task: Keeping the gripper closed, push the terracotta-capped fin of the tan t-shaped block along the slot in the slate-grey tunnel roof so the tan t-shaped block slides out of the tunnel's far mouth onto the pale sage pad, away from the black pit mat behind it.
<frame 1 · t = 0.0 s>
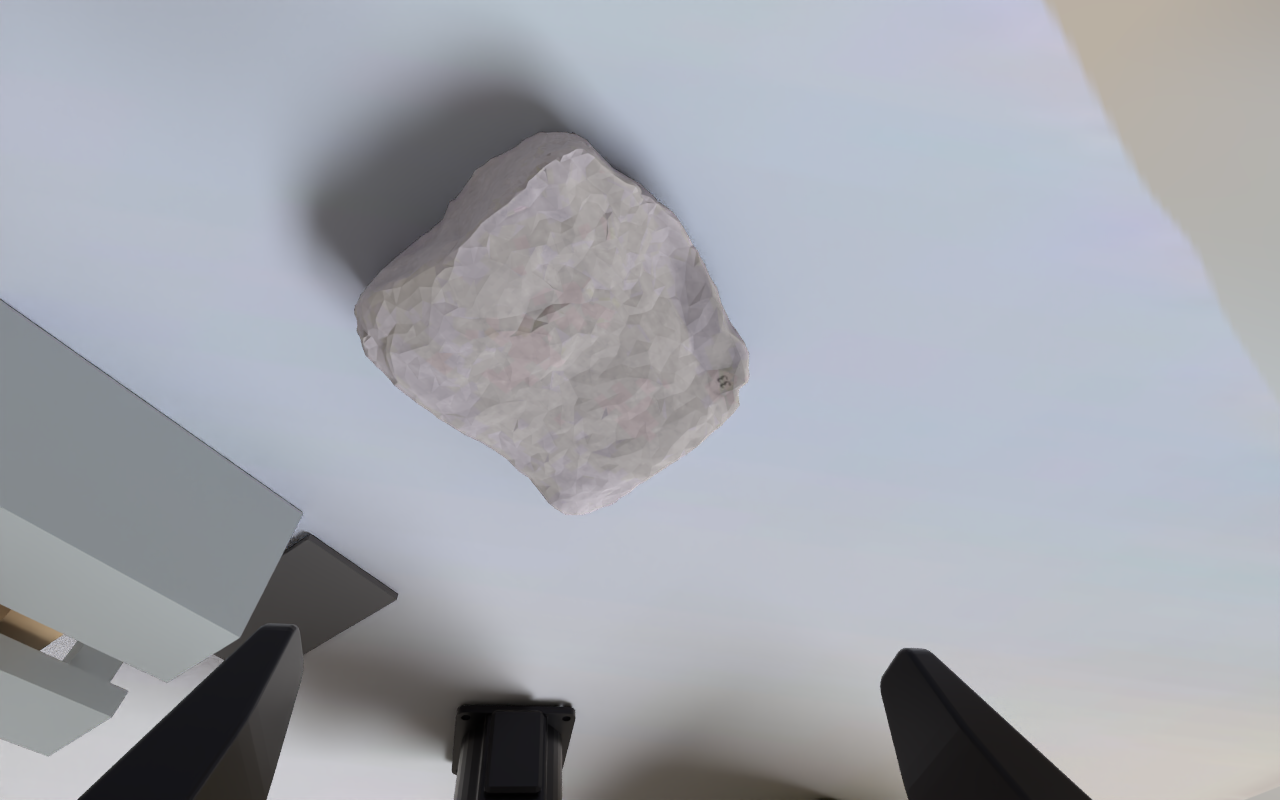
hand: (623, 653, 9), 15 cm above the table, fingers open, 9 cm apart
pit mat: (285, 609, 28), on the table
tunnel: (79, 486, 24), on the table
stone block: (579, 312, 23), on the table
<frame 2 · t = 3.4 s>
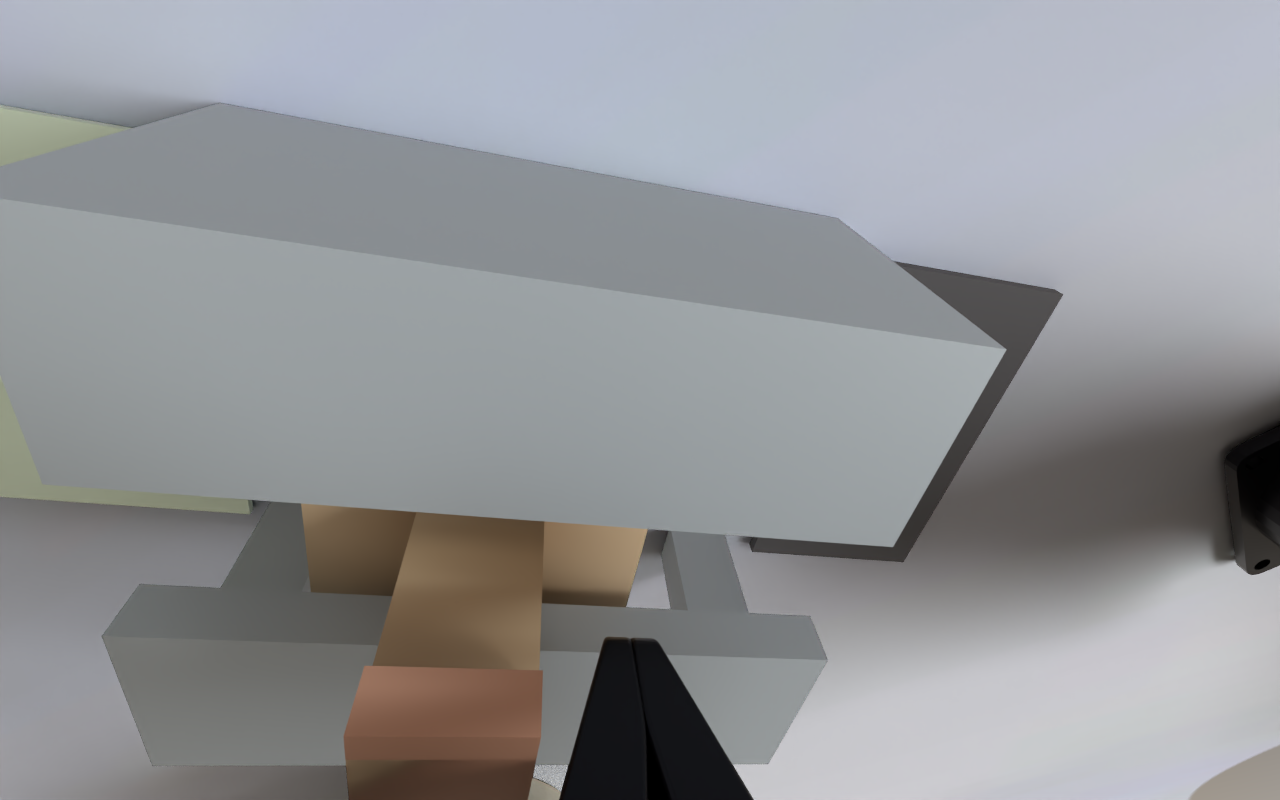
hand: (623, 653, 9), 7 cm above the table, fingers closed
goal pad: (41, 334, 13), on the table
tan t-shaped block: (482, 528, 11), point 5 cm above the table, slide at 0.6 cm, touching gripper
pit mat: (885, 430, 17), on the table
tunnel: (530, 390, 15), on the table
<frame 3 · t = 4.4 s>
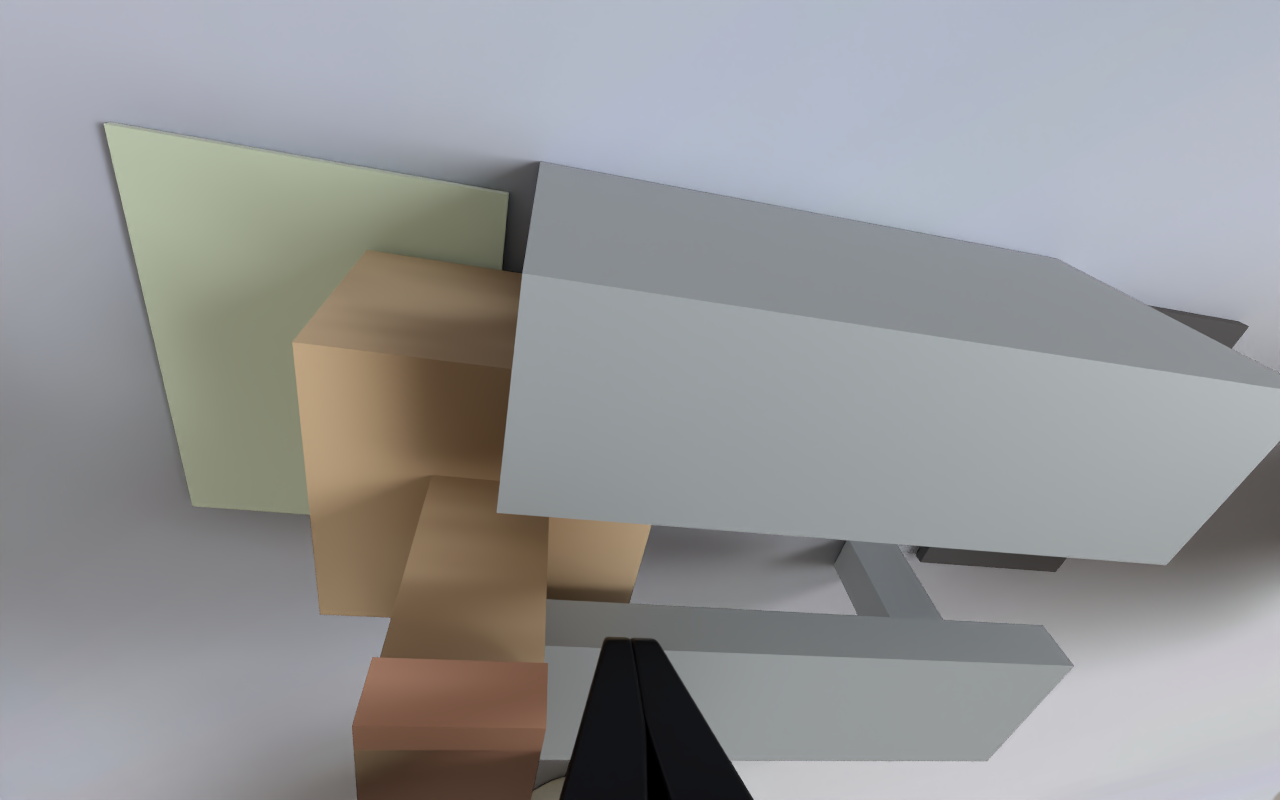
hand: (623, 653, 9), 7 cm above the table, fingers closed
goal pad: (334, 364, 14), on the table
tan t-shaped block: (487, 524, 11), point 5 cm above the table, slide at 6.2 cm, touching gripper
pit mat: (1060, 450, 18), on the table
tunnel: (750, 413, 16), on the table
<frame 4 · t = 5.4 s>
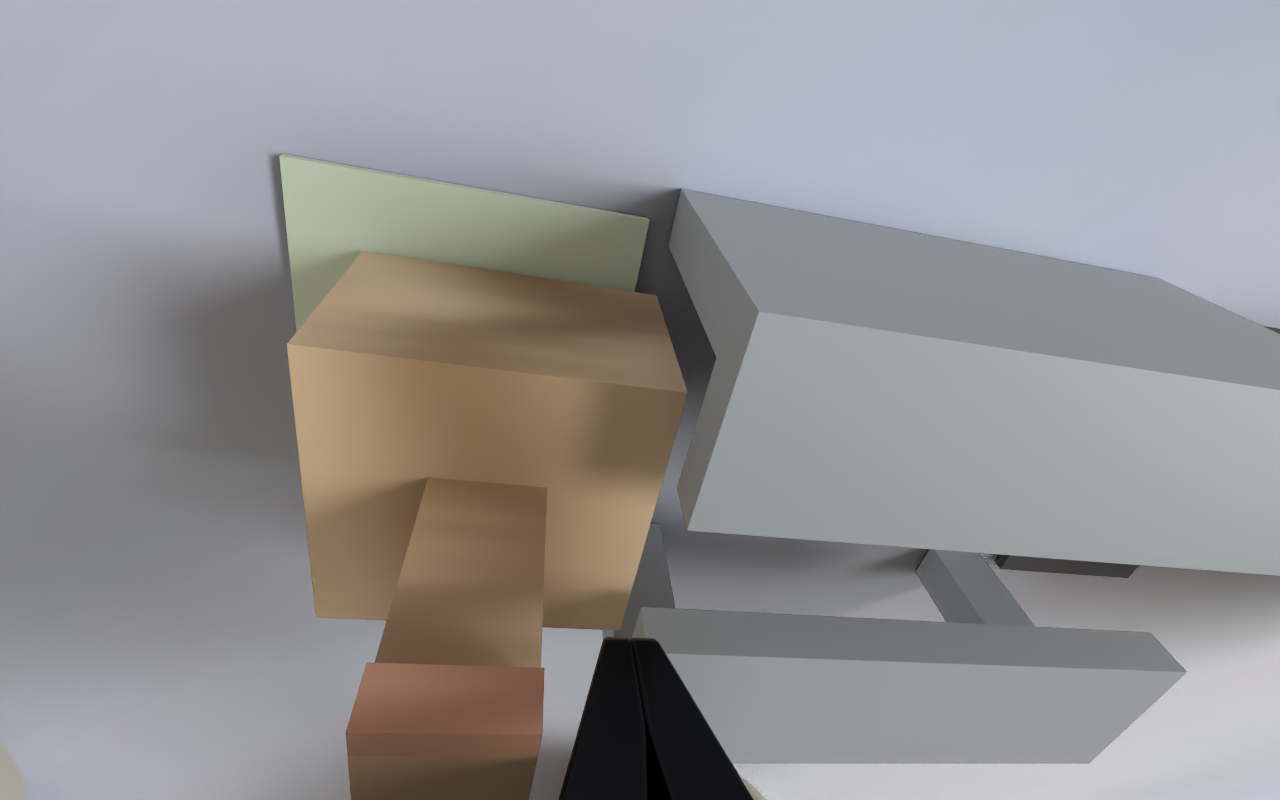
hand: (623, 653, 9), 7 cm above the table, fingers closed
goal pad: (464, 381, 14), on the table
tan t-shaped block: (483, 526, 11), point 5 cm above the table, slide at 9.1 cm, touching gripper
pit mat: (1143, 460, 18), on the table
tunnel: (852, 426, 16), on the table
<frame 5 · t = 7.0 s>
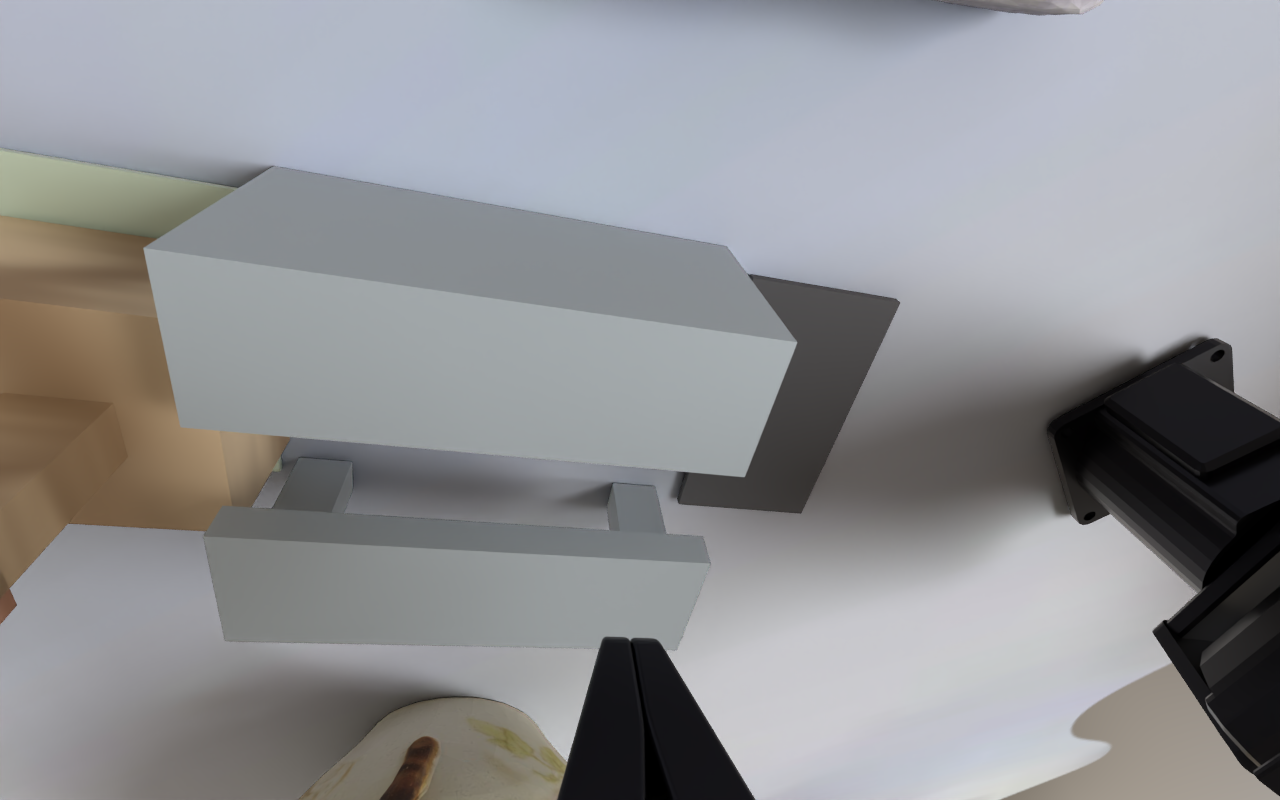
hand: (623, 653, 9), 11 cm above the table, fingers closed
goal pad: (129, 330, 17), on the table
tan t-shaped block: (59, 434, 13), point 5 cm above the table, slide at 9.1 cm
pit mat: (777, 406, 21), on the table
sugar bowl: (458, 739, 30), on the table
tunnel: (499, 374, 19), on the table
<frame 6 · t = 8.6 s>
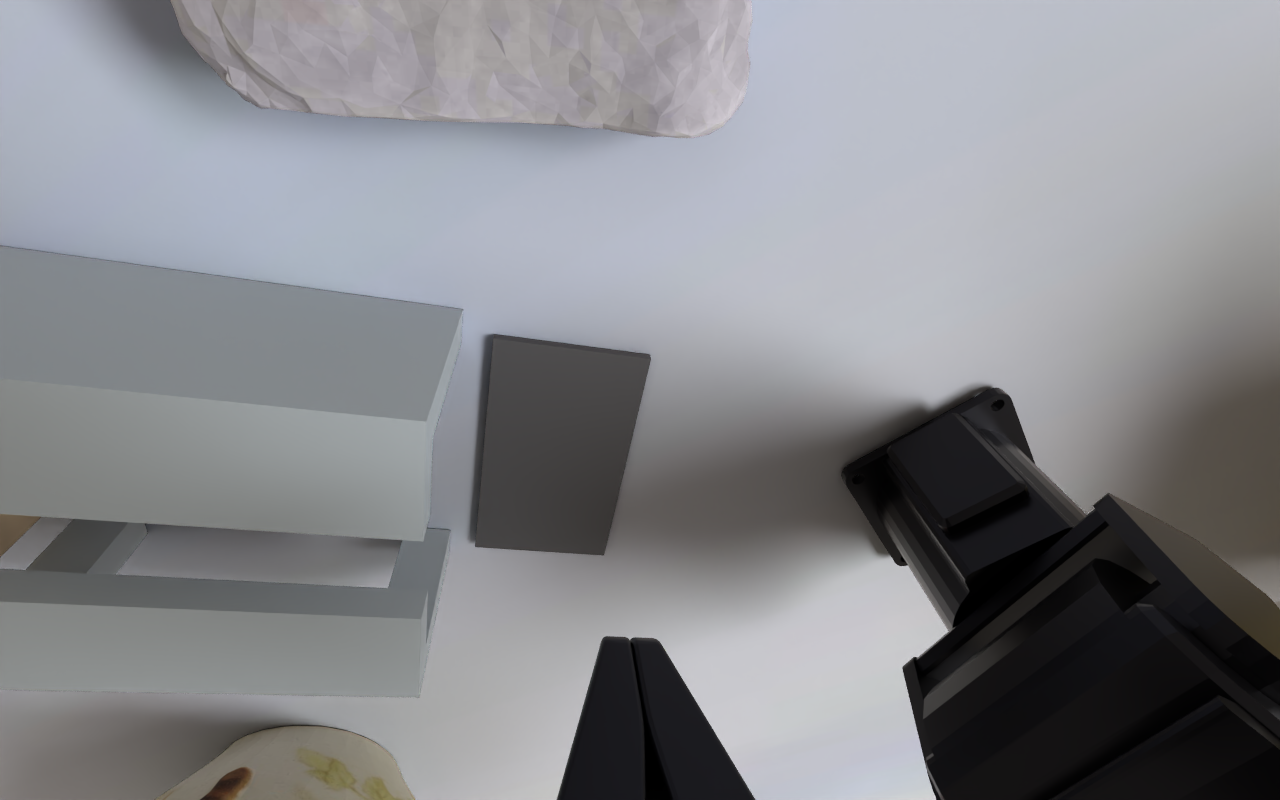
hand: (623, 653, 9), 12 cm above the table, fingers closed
pit mat: (555, 455, 22), on the table
sugar bowl: (314, 764, 31), on the table
tunnel: (266, 428, 20), on the table
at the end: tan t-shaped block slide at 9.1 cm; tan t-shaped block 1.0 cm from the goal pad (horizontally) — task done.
